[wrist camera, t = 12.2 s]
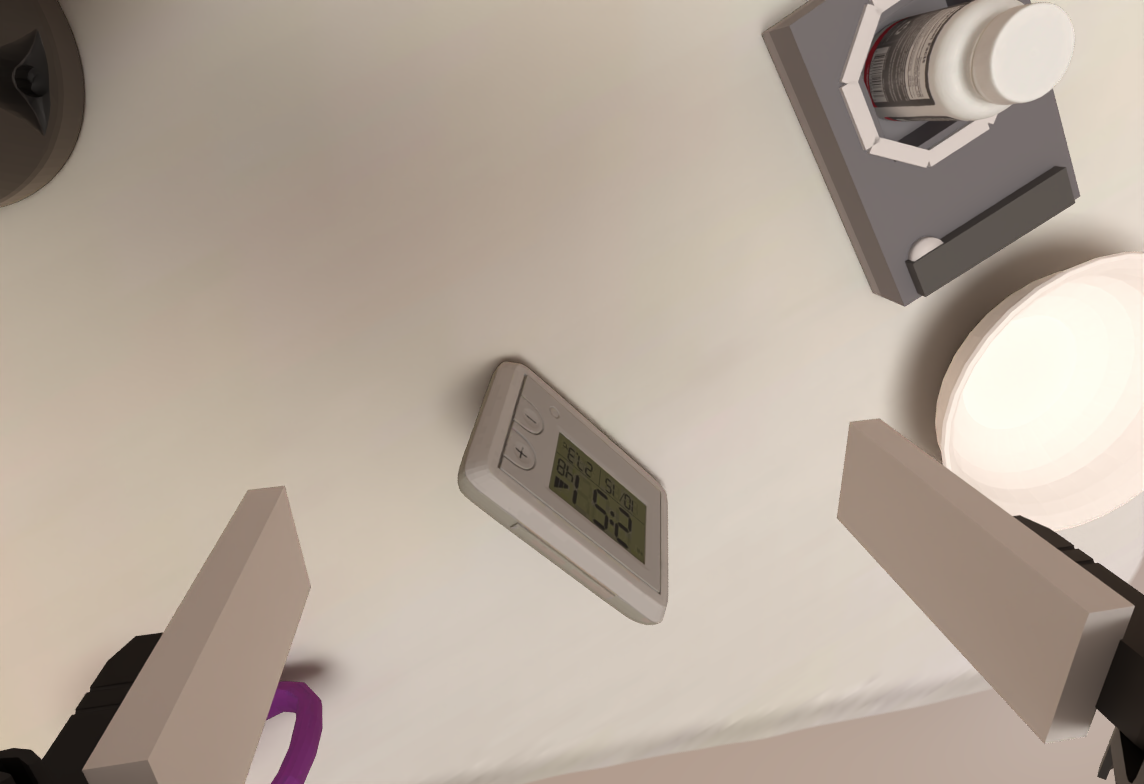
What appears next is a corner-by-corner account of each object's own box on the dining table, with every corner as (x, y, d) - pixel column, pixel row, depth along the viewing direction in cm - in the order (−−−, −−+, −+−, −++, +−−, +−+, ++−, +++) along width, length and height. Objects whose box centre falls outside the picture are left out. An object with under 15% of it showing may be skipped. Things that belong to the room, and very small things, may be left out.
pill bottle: (961, 49, 37) (1115, 27, 28) (905, 138, 39) (1034, 143, 30) (892, -3, 36) (1033, -45, 27) (836, 92, 37) (951, 82, 28)
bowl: (1148, 417, 51) (1235, 455, 46) (918, 527, 52) (974, 578, 47) (1127, 181, 43) (1229, 191, 37) (855, 317, 44) (913, 348, 38)
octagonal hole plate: (761, 33, 36) (796, 23, 33) (951, -98, 35) (1011, -125, 31) (872, 292, 44) (912, 309, 40) (1034, 190, 42) (1091, 197, 39)
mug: (98, 665, 46) (-59, 895, 33) (315, 613, 47) (253, 815, 33) (154, 752, 50) (35, 991, 36) (355, 702, 51) (313, 917, 37)
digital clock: (671, 497, 48) (722, 593, 38) (569, 561, 49) (594, 671, 39) (549, 324, 41) (574, 387, 32) (434, 401, 42) (424, 486, 33)
